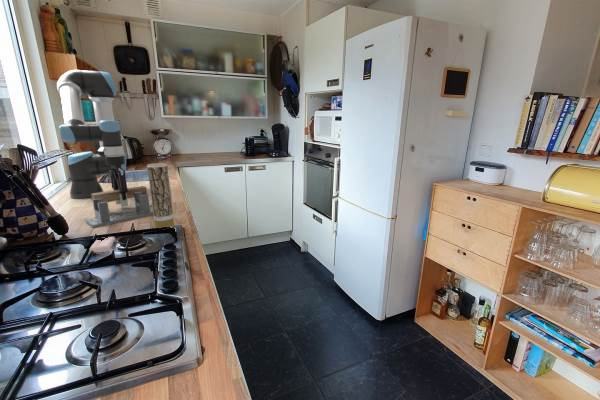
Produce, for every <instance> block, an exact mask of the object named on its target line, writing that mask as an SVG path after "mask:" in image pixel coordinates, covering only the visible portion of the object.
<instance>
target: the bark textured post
mask: <svg viewBox="0 0 600 400" xmlns="http://www.w3.org/2000/svg"><path fill="white" fill-rule="evenodd" d="M146 167H147V174H148V182H149V183H148V184H149V189H150V198H151V207H153V221H154V222H153V223H154V228H155V229H156V228H162V227H170V226H174V227H175V222H174V213H173V204H172V203H173V202H172V195H171V194H172V193H171V185H170V177H169V167H168V163H165V162H163V163H162V162H161V163H160V162H158V163H157V162H155V163H149V164H147V166H146Z"/></svg>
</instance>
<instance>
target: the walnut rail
mask: <svg viewBox="0 0 600 400" xmlns="http://www.w3.org/2000/svg"><path fill="white" fill-rule="evenodd" d="M127 189H128V192H126V195H127V200H128V199H134V193H137V192H142V195H148V192H147V186H143V185H140V186H133V187H127ZM119 192H120V191H119V190H113V189H112V190H108V191H107V190H106V191H103V192H100V193H93V194H91V196H92V197H91V200H92V203H93V200H94V199H100V198H101V199H102V202H107V203H109V202H116V201H117V200H120V195H119V194H118V193H119Z"/></svg>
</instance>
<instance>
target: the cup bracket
mask: <svg viewBox="0 0 600 400" xmlns="http://www.w3.org/2000/svg"><path fill="white" fill-rule="evenodd" d="M134 198H135V202H134V206H135V209H130V210H125V211H120V212H119V211H118V212H116V213H115V212H114V213H110V210H109V211H108V208H109V204H108V205H107V203H108V202H102V199H101V198H100V199H94V200H93V202H92V204H93V205H92V206H93V211H94V215H95V217H90V218H85V219H84V220H85V223H86V224H88V225H89V226H90V227H91V228H92V229H93V228H98V227H103V226H107V225H112V224H116V223H121V222H126V221H130V220H135V219H138V218H143V217H144V218H145V217H148V216H152V215H153V207H152V206H151V205H150V200H149V194H147V195H142V192H137V193H134ZM134 198H133V199H134ZM153 216H154V215H153Z"/></svg>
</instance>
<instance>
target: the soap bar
mask: <svg viewBox="0 0 600 400" xmlns="http://www.w3.org/2000/svg"><path fill="white" fill-rule="evenodd" d="M107 237H108V238H105V237H104V238H105V239H104V240H102V241H101V240H97V239H96V240H95V241H94V243H92V245H91V246H90V248H89V251H90V250H92V251H94V252H101V251H108V250H110V248H111V246H112V244H113V242H114V240H115V241H116V237H115V236H107ZM111 249H112V248H111ZM110 251H111V250H110Z"/></svg>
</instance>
